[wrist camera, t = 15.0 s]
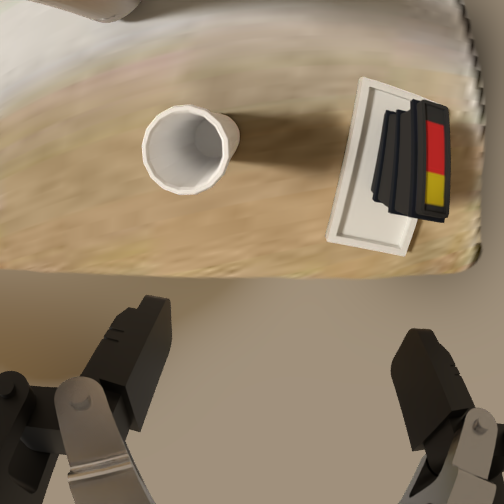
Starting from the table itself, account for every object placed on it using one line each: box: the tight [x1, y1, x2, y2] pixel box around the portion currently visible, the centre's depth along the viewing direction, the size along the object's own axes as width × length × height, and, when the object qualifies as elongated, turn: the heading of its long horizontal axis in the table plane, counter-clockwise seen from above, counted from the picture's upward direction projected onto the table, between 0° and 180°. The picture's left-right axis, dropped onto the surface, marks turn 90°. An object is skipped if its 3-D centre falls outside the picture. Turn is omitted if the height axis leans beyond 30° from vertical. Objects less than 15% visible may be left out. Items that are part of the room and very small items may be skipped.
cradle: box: [325, 77, 441, 257], centre depth 36 cm, size 22×12×2 cm, turn 171°
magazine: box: [371, 99, 451, 223], centre depth 30 cm, size 4×13×15 cm, turn 176°
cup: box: [142, 104, 240, 195], centre depth 31 cm, size 8×8×14 cm
